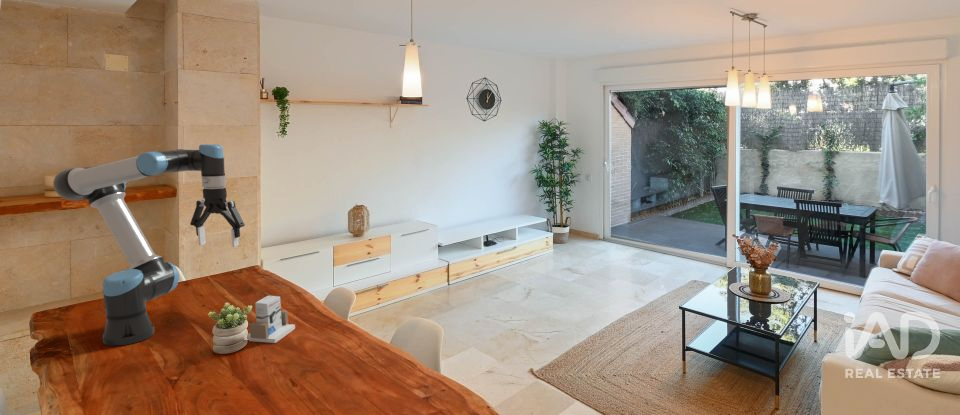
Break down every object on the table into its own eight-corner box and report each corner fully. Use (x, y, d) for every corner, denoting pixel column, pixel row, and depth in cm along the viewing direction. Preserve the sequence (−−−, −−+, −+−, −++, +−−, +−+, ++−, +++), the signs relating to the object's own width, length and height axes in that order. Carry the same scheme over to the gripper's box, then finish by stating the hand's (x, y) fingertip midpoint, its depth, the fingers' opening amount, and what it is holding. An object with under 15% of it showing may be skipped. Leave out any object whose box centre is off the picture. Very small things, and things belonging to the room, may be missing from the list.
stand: (243, 341, 175) (241, 323, 174) (266, 325, 188) (265, 309, 187) (274, 343, 173) (273, 326, 172) (295, 327, 186) (294, 311, 185)
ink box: (269, 335, 176) (266, 303, 174) (256, 334, 177) (254, 302, 175) (282, 326, 184) (280, 295, 182) (270, 325, 185) (268, 295, 183)
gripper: (175, 187, 177) (181, 246, 180) (238, 189, 172) (243, 249, 176) (191, 185, 184) (196, 241, 187) (252, 187, 179) (256, 244, 183)
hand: (219, 245), depth 181 cm, fingers open, 13 cm apart
